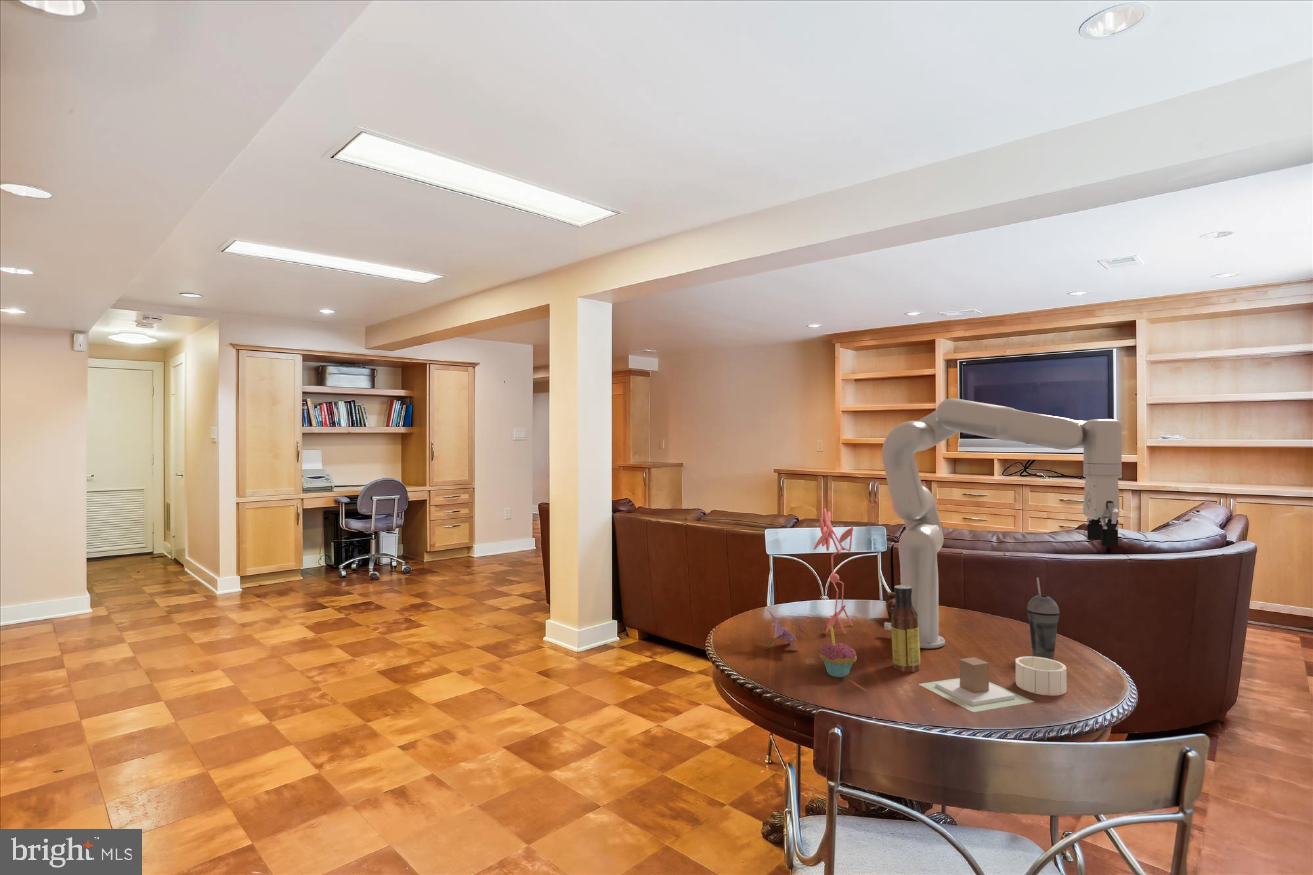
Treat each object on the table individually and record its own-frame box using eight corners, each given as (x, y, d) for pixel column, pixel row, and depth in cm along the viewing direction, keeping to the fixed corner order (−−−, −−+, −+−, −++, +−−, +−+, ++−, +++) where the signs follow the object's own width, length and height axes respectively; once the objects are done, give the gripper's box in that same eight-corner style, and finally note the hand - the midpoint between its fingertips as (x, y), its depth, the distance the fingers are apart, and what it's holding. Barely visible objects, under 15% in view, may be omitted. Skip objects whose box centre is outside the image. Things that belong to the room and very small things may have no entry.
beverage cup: (1065, 663, 161) (1064, 581, 161) (1032, 661, 163) (1032, 580, 163) (1053, 653, 169) (1053, 575, 169) (1022, 651, 170) (1021, 574, 170)
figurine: (861, 619, 201) (857, 504, 201) (842, 642, 178) (838, 513, 179) (811, 614, 208) (808, 503, 209) (787, 636, 186) (783, 512, 186)
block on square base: (973, 705, 135) (973, 672, 135) (935, 686, 146) (935, 655, 146) (1015, 698, 139) (1015, 666, 139) (974, 680, 149) (974, 650, 149)
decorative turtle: (895, 613, 208) (897, 588, 207) (935, 629, 194) (937, 602, 194) (872, 616, 203) (874, 590, 203) (911, 632, 190) (914, 604, 190)
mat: (973, 714, 132) (973, 712, 132) (918, 685, 147) (918, 684, 147) (1034, 703, 137) (1034, 701, 137) (975, 677, 152) (975, 675, 152)
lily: (793, 663, 166) (809, 628, 168) (750, 641, 169) (766, 607, 171) (792, 663, 177) (806, 629, 179) (751, 642, 180) (766, 609, 182)
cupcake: (836, 682, 150) (836, 629, 150) (811, 671, 157) (811, 620, 157) (864, 676, 154) (864, 624, 154) (838, 665, 161) (838, 616, 161)
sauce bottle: (919, 666, 160) (919, 584, 160) (921, 675, 154) (920, 590, 154) (891, 663, 162) (890, 582, 162) (891, 672, 156) (890, 588, 156)
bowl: (1016, 692, 143) (1016, 667, 143) (1015, 677, 152) (1014, 654, 152) (1068, 700, 139) (1068, 674, 139) (1063, 684, 147) (1063, 660, 147)
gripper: (1073, 469, 166) (1072, 537, 166) (1096, 472, 149) (1096, 548, 149) (1107, 469, 164) (1107, 538, 164) (1135, 473, 147) (1135, 550, 147)
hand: (1102, 543), depth 156 cm, fingers open, 9 cm apart
